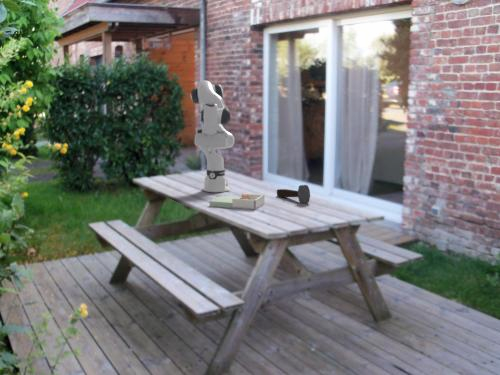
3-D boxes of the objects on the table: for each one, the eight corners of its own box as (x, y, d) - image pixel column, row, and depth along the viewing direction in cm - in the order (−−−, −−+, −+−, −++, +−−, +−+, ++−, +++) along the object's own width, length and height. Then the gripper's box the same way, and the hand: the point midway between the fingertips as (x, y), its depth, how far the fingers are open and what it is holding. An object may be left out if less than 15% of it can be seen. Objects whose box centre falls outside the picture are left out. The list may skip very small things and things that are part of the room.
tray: (242, 202, 355) (242, 193, 354) (264, 203, 350) (264, 194, 350) (232, 207, 338) (232, 198, 337) (255, 209, 334) (255, 200, 333)
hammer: (276, 202, 375) (304, 204, 349) (275, 184, 374) (303, 185, 348) (282, 201, 377) (310, 203, 352) (281, 184, 377) (309, 184, 351)
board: (220, 200, 359) (220, 195, 358) (242, 202, 355) (242, 197, 354) (209, 206, 342) (209, 201, 341) (232, 207, 338) (232, 202, 337)
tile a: (244, 193, 350) (248, 194, 350) (244, 201, 351) (248, 202, 350) (242, 195, 346) (246, 195, 345) (242, 203, 347) (246, 203, 346)
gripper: (229, 130, 350) (228, 153, 352) (197, 129, 356) (197, 152, 358) (225, 131, 344) (225, 154, 346) (193, 130, 350) (193, 153, 352)
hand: (210, 153), depth 352 cm, fingers closed
